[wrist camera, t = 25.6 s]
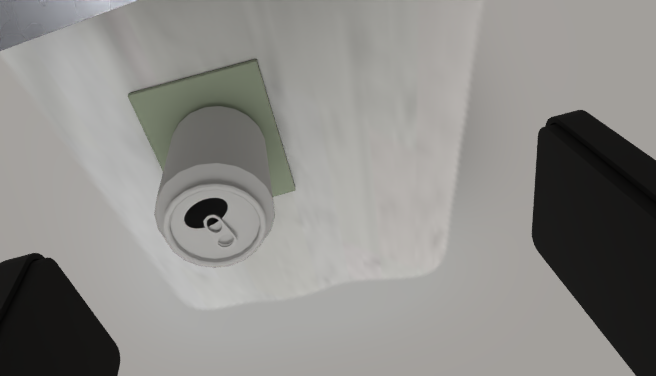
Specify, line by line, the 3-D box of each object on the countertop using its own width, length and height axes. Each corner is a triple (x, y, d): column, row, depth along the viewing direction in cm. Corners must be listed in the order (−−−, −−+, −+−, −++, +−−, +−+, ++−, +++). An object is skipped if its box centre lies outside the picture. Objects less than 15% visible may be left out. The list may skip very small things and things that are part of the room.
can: (231, 84, 37) (231, 154, 27) (282, 156, 41) (299, 241, 31) (151, 133, 38) (122, 218, 28) (209, 199, 42) (201, 295, 32)
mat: (129, 93, 37) (127, 96, 36) (256, 58, 37) (256, 61, 37) (186, 217, 43) (186, 220, 43) (294, 186, 44) (295, 190, 43)
